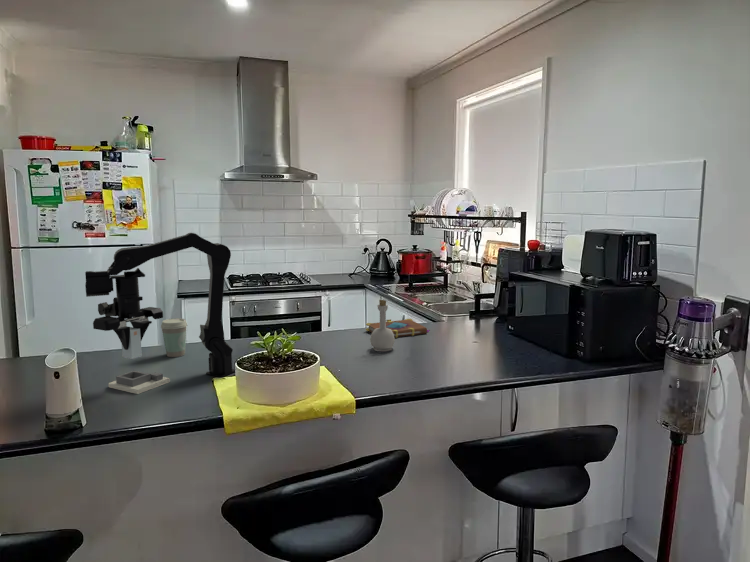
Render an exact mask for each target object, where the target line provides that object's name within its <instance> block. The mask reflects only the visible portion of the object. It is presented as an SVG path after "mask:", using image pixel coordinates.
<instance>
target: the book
mask: <svg viewBox="0 0 750 562" xmlns="http://www.w3.org/2000/svg"><path fill="white" fill-rule="evenodd" d="M365 325H366V326H368V327H367V328H365V331H367V332H369V333H371V334H372V332H373V331H374V330H375V329H377V328H380V321H379V322H366V323H365ZM386 328H388V329H391V330H392V332H393V334H394V339H395V338H396V339H397V338H399V337H400V338H401V337H408V336H412V337H413V336H414V337H415V336H417V335H426V334H427V333H430V329H428V327H426V326H424V325H422V324H420V323H419V322H416V321H414V320H413V319H412V318H406V319H399V320H398V319H397V320H392V319H386Z"/></svg>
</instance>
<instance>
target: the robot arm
mask: <svg viewBox="0 0 750 562" xmlns="http://www.w3.org/2000/svg"><path fill="white" fill-rule="evenodd" d="M191 248H193V249H196V250H198V251H200V252H202V253H204V254H206V258H207V265H208V268H209V269H208V270H209V287H208V301H207V316H206V317H207V318H206V321H205V323H204V324H200V325H199V329H200V334H199V336H198V338H199V339H200V340H201V343H202V345H203V346H204V347H205V349H206V350H208V351H209V353H208V370H209V371H206V373H205V375H208V376H214V377H218V378H223V377H225V376H228V375H230V374H233V373H236V372H235V370H236V369H233V357H232V354H233V350H234V349H233V348H232V347H231V346H230V345H229V344H228V342H227V341H226V339H225V332H224V327H223V322H222V320H223V319H222V315H223V301H224V289H225V288H224V287H225V275H226V272H227V271H228V268H229V264H230V261H231V256H232V253H231V252H232V251H231V249H229V247H228V246H226V245H225V244H222V243H218V242H215V243H213V242H211V241H209V240H208V239H205V238H203V237H201V236H199V234H197V233H195V232H188V233H186V234H183V235H180V236H176V237H173V238H169V239H165V240H163V241H158V242H155V243H152V244H148V245H143V246H142V245H141V246H140V245H139V246H129V247H122V248H119V249H117V250H116V251H115V253H114V254H113V262H112V263H111V264H110V266H108V268H107V270H100V271H97V270H96V271H94V270H89V271H88V270H87V271H85V272H84V273H85V284H84V285H85V295H86V297H98V296H99V297H101V296H110V293H112V292H114V280H115V291H116V292H115V293H116V297H115V296H114V297H113V299H112V303H110V304H109V303H108V302H100V303H98V304H97V312H98V315H100V316H101V317H96V318H95V319H94V320H93V322H92V326H93V330H100V331H104V332H108V331H112V330H113V332H114V333H115V334H116V335H117V337H118V339H119V341H120V343H121V346H122V345H123V347H124V349H125V350H128V348H129V338H130V327H131V326H132V327H133V328H139V329H140V336H141V342H142V340H143V338H144V336H145V333H146V331H147V330H148V328H149V326H150V325H151V324H153V321H151V320H149V318H150V317H151V318H152V319H154V320H158V319H163V318H164V312H163V310H162V309H161V308H160V307H153V306H149V307H143V308H141V303H140V301H143V300H144V298H143V296H140V289H139V288H140V285H139V278H145V277H146V274H145V272H143V271H141V270H140V268H139V266H141V265H143V264H145V263H147V262H148V261H151V260H152V259H156V258H159V257H163V256H166V255H170V254H174V253H176V252H179V251H184V250H186V249H191ZM135 268H136V269H135ZM133 269H135V270H133ZM131 270H132V271H131ZM122 272H123V274H120V273H122ZM119 274H120V275H119ZM128 322H129V323H130V324H131V326H127V323H128Z"/></svg>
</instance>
